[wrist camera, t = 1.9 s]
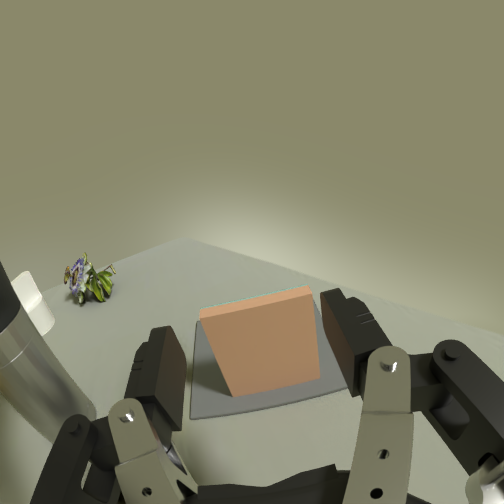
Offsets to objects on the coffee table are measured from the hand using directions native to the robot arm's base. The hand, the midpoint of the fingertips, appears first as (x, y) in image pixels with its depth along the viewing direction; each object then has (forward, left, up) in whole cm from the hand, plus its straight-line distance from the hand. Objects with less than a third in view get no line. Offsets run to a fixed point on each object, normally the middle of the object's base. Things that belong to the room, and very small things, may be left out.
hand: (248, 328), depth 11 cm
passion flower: (-36, +44, -20) cm, 61 cm away
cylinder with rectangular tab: (-49, +34, -20) cm, 63 cm away
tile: (0, +12, -20) cm, 23 cm away
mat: (-1, +18, -20) cm, 27 cm away
